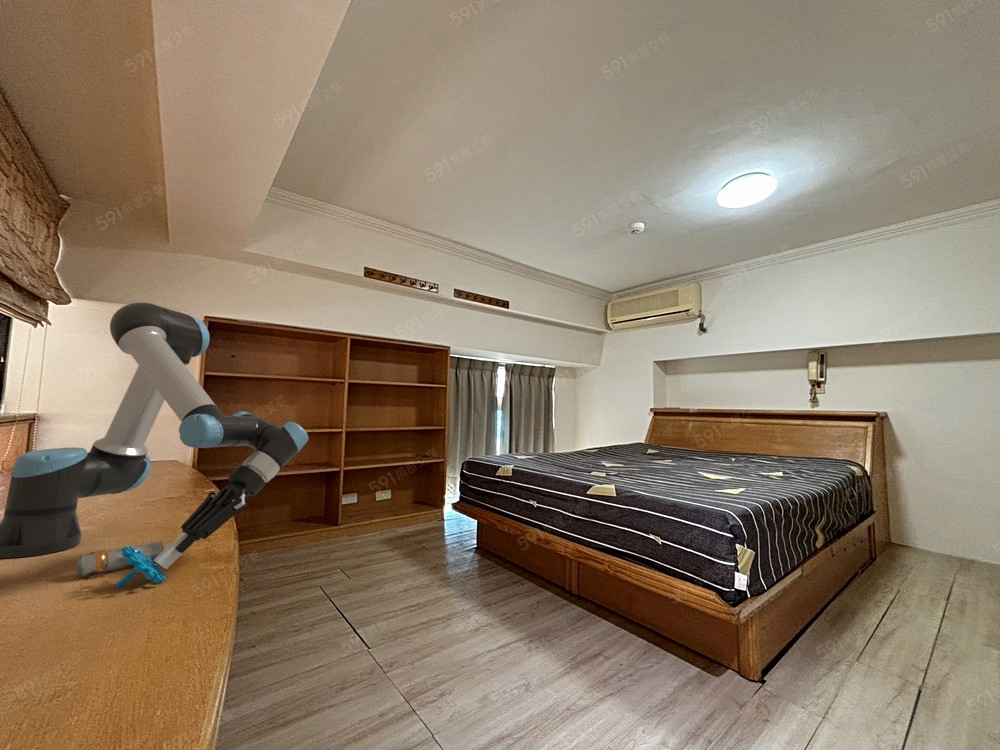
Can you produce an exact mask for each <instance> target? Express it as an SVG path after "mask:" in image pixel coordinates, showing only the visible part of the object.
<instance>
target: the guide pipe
mask: <svg viewBox="0 0 1000 750" xmlns="http://www.w3.org/2000/svg"><path fill="white" fill-rule="evenodd" d="M131 547H133V548H135V551H136V552H137V551H141V552H142V553H143V554H144V555H143V556H144V557H146V556H147V555H149V556H150V557H151V559H152V560H154V559H155V558H156V557H157V556H158V555H159V554H160V553H161V552H163V551H164V550H165V548H164V543H163V542H162V541H161V540H160V541H155V542H150V543H149V542H148V543H142V544H137V545H133V546H131ZM123 548H124V547H123ZM123 548H116V549H112V550H105V549H103V550H96V551H92V552H90V553H89V554H84V555H83V554H82V555H80V556H79V557H78V560H77V562H76V563H77V564H76V573H77V576H78V577H79V578H82V577H83V576H84V577H83V578H85V577H86V578H87V580H88V579H90V580H93V579H92V578H94V579H97V577H99V578H102V577H101V576H103V577H105V576H106V572H108V571H113V570H119V569H123V568H127V567H132V566H133V567H134V565H131V564H129V563H127V561H126V559H127V558H126V557H124V556H123V555H121V553H122V552H123V551H122V550H121V549H123ZM153 564H157V563H156V562H154V561H153ZM157 565H158V564H157ZM86 578H85V579H86Z"/></svg>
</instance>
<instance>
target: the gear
mask: <svg viewBox="0 0 1000 750" xmlns="http://www.w3.org/2000/svg"><path fill="white" fill-rule="evenodd" d="M120 549H121V548H120ZM121 550H122V551H123V552H122V553H121V555H123V556H124V557H126V558H127V559H126V561H127V563H129V564H131V565H133V568H131V570H130V572H129V573H128V574H126V576H124V577H123V578H122V579H121V580H119V581H118V582H117V583H116V584H114V587H115V588H117V589H118V588H119V589H121V588H122V587H124V586H125V584H127V583H128V582H129V581H130V580H131V579H132V578H134V577H135V576H139V575H140V574H141V573H143V574H144V577H145V578H146V579H147V580H149V581H150V580H152V581H153V582H154V583H155V584H160V583H161V584H162V583H163V582H165V581H166V580H167V578H166V577H165V576H166V573H165V572H163V571H161V568H162V567H161V566H160V565H158V564H157V565H155V564H153V560H152V559H151V557H150V556H149V555H147V556H146V557H144V556H143V555H144V554H143V553H142V552H141V551H137V552H136V551H135V548H133V547H132V546H131V545H130V546H127V545H125V546H124V547H123V549H121ZM120 587H121V588H120Z"/></svg>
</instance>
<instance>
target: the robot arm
mask: <svg viewBox="0 0 1000 750" xmlns="http://www.w3.org/2000/svg"><path fill="white" fill-rule="evenodd" d="M109 322H110V323H109V331H110V334H111V337H112V339H113V341H114V343H115V345H117V347H118V348H119V349H120V350H121V352H123V353H124V354H127V355H130V356H132V358H133V360H134V361H135V362H136V364H137V365H138V366H137V368H136V370H135V372H134V375H133V376H132V379H131V381H130V383H129V386H128V387H127V389H126V392H125V394H124V395H123V398H122V400H121V402H120V404H119V406H118V408H117V411H116V412H115V415H114V416H113V419H112V421H111V423H110V425H109V428H108V430H107V431H106V432H105V433H106V434H105V435H104V437H101V438H99V439H96V440H95V441H94V442H93V443H92V446H91V448H90V451H89V452H87V449H86V448H83V447H61V448H56V447H55V448H48V449H47V448H46V449H40V450H38V449H37V450H33V451H28V452H24V453H23V454H22V453H21V455H18V457H17V458H16V460H15V461H14V462H15V463H14V465H13V467H12V470H11V472H10V476H11V477H10V481H9V482H10V483H9V488H8V493H7V498H6V503H5V507H4V508H5V509H4V514H3V518H2V520H0V559H10V558H13V559H14V558H23V557H31V556H40V555H47V554H51V553H52V554H53V553H56V552H60V551H65V550H68V549H71V548H74V546H75V547H76V545H77V546H79V545H80V544H81V540H82V530H81V527H80V523H79V522H80V521H79V519H78V516H77V508H78V507H77V506H78V502H79V499H82V498H89V497H97V496H105V495H115V494H120V493H124V492H128V491H132V490H134V489H136V488H138V487H139V486H141V485H142V484H143V483H144V482H145V481H146V479H147V478H148V477H149V474H150V472H151V468H152V464H150V463H151V462H152V461H151V457H150V456H149V455H148V452H149V449H148V448H147V446H146V445H145V443H146V441H147V439H148V438H149V435H150V433H151V430H152V428H153V426H154V423H155V422H156V420H157V418H158V415H159V414H160V411H161V409H162V407H163V405H164V402H165V403H167V404H168V406H169V407H170V409H171V410H172V411H173V413H174V414H175V415H176V417H177V418H178V419H179V421H180V424H179V428H178V433H179V439H180V441H181V443H182V444H184V445H185V446H186V447H188V448H197V449H198V448H200V449H211V448H221V447H222V448H223V447H245V446H246V447H249V448H252V449H253V450H255V451H254V452H253V453H251V454H250V455H249V456H248V457H247V458H246V459H245V460H244V461H243V462H242V465H239V466H238V467H237V468H236V469H234V470H233V472H231V473H230V474H229V475H228V480H227V481H228V484H227V485H225V486H224V487H222V488H221V489H220V491H218V492H216V493H215V491H211V492H209V493H208V495H207V496H206V498H205V499H204V500H203V501H202V503H201V504H200V505H199V506H198V507H197V508H196V509H195V510H194V511H193V512H192V514H190V516H189V517H188V518H187V519H186V521H185V522H184V523H182V525H181V526H180V529H182V533H181V534H179V535H178V536H177V537H176V538H175V539H174V540H173V541H172V542H171V543H170V544H169V545H168V546H166V548H164V551H163V552H161V553H160V554H159V555H158V556H157V557H156V558H155V559H154V560H153V561H154V562H156V563H157V565H158V566H159V567H160V568H162V569H165V570H168V568H169V567H171V565H172V564H173V563H175V562H176V561H177V559H179V557H181V556H182V555H183V553H185V552H186V551H187V550H188V549H189V548H190V547H191V546H192V545H193V544H194V543H195V542H196V541H200V540H201V539H202V540H206V539H207V538H209V537H210V536H211V535H212V534H213V533H215V532H216V531H217V530H218V529H220V528H221V527H222V526H223V525H224V524H225V523H227V522H228V521H229V520H230V519H231V518H233V517H234V516H235V515H236V514H237V513H239V512H241V511H242V510H244V509H245V508H247V506H248V504H247V503H246V502H245V500H247V498H248V497H255V496H256V495H257V494H258V493H259V492H260V491H262V489H263V488H264V487H265V485H266V483H267V484H268V483H269V482H270V481H271V480H272V479H273V478H274V479H275V477H276V475H277V474H278V472H279V471H280V470H281V469H282V468H283V467H285V465H286V464H287V463H288V462H290V461H291V459H292V458H294V457H295V456H296V455H297V454H298V453H299V452H301V449H302V448H303V447H304V446H305V445H306V444H307V443H308V441H309V435H308V433H307V431H306V430H305V429H304V428H303V427H302V426H301V425H300V424H298V423H296V422H294V421H293V422H291V421H288V422H286V423H284V424H283V425H282V426H279V425H276V424H275V423H274V424H273V423H272V422H269V421H267V420H265V419H263V418H261V417H259V416H258V415H256V414H254V413H250V412H247V411H238V412H236V413H234V414H233V415H225V414H223V412H222V411H221V410H220V408H219V407H218V406H217V405H216V403H215V402H214V401H213V400H212V398H211V397H210V395H208V393H207V392H206V391H205V389H204V388H203V387H202V386H201V384H200V383H199V381H198V380H197V379H196V378H195V377H194V375H193V374H192V373H191V371H190V370H189V369H188V367H187V366H188V365H189V364H190V363H191V360H192V358H195V357H199V356H201V355H202V354H204V353H205V352H206V350H207V349H208V346H209V343H210V332H209V330H208V327H207V325H206V324H205V323H204V321H202V320H201V319H199V318H197V317H194V316H192V315H190V314H186V313H183V312H181V311H178V310H177V311H176V310H173V309H170V308H165V307H163V306H159V305H156V304H153V303H150V302H143V301H142V302H134V303H129V304H126V305H123V306H122V307H120V308H119V309H118V310H116V312H115V313H114V314H112V317H111V319H110V321H109Z"/></svg>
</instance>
